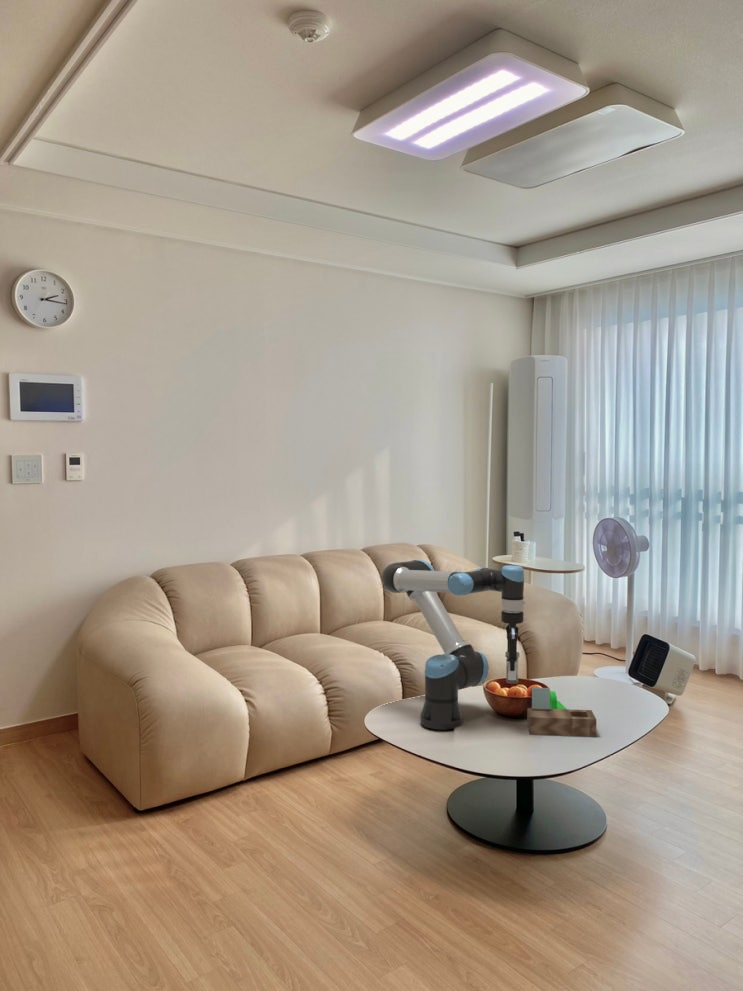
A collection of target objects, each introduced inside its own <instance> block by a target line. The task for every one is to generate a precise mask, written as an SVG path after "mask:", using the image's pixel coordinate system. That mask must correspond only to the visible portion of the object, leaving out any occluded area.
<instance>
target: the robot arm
mask: <svg viewBox="0 0 743 991" xmlns="http://www.w3.org/2000/svg"><path fill="white" fill-rule="evenodd" d="M524 572H525V571H524V567H522V566H520V565H512V564H510V565H503V566H502V568H501V570H499V569H495V568H494V569H493V568H489V567H478V568H476V569H475V570H473V571H444V570H443V571H441V570H435V569H434V567H433V566H432V565H431V564H430V563H429V562H428V561H426V560H421V559H414V560H410V561H401V562H400V561H399V562H393V563H391V564H390V563H389V564H388V565H387V566H386V567H385V568H384V570H383V571H382V574H381V584H382V586H383V587H384V588H385V590H386V591H388V592H389V593H392V594H393V593H394V594H402V593H406V595H407V597H408V599H409V600H410V601H414V602H415V603H416V605H417V606H418V608H419V611H420V612H421V614H422V616H423V617H424V619H425V621H426V622H427V625H428V626H429V628H430V630H431V631H432V633H433V635H434V637H435V639H436V640H437V642H438V644H439V646H440V648H441V649H442V651H443V653H442V654H437V655H436V654H435V655H433V656H430V657H428V659H426V662H425V665H424V666H425V667H424V691H425V693H424V694H425V696H424V697H425V698H424V704H423V705H422V706H423V707H422V710H421V713H420V717H419V720H420V722H421V723H420V724H421V726H423V725H424V727H426V728H429V729H433V730H453V729H454V730H455V729H457V728H459V727H461V726H462V725H463V724H464V717H463V713H462V710H461V707H460V704H459V690H464V689H467V688H469V687H476V686H478V685H480V684H482V683H483V682H485V680H486V679H487V678H488V675H489V671H490V669H489V668H490V667H489V666H490V665H489V661H488V659H487V657H486V656H485V655H484V653H482V652H479V651H476V650H475V649H474V647H473V645H472V644H471V643H468V642H465V641H464V638H463V637H462V634H461V633H460V631H459V629H458V628H457V627H456V624H455V622H454V621H453V619H452V617H451V615H450V613H449V612H448V611H447V609H446V607H445V605H444V604H443V602H442V601H441V599H440V597H439V595H438V593H447V594H453V595H454V596H467V595H471V594H477V593H482V592H489V591H492V592H500V593H501V598H500V600H501V601H500V602H501V604H500V609H501V610H502V611H501V613H500V614H501V615H500V616H501V617H500V619H501V620H500V621H501V622H502V623H505V624H508V625H507V626H506V628H505V631H506V639H507V646H506V647H507V649H506V650H507V651H506V652H508V651H509V659H507V658H506V659H507V661H508V680H516V661H517V652H518V651H517V648H518V647H517V646H518V641H519V638H518V635H519V627H518V626H517V625H519V624H523V622H524V611H523V610H524V605H526V601H524V590H525V589H524V588H525V587H524V586H525V574H524Z"/></svg>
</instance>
